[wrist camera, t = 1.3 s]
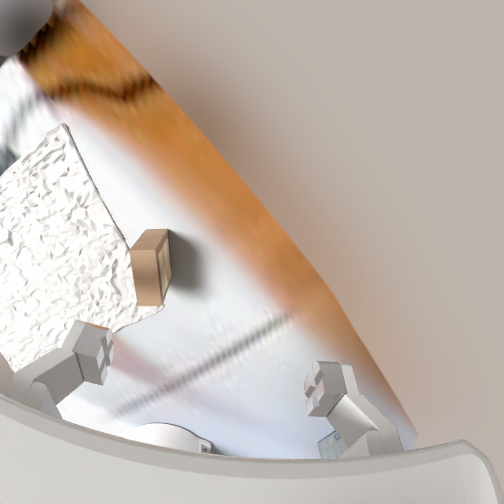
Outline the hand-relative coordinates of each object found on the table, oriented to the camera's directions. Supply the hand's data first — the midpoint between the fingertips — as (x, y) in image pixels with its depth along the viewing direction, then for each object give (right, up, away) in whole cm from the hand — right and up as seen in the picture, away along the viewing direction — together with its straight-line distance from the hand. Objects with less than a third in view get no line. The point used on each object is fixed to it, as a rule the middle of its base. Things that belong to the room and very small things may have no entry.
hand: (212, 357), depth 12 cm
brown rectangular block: (-11, +4, +30) cm, 33 cm away
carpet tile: (-35, +1, +31) cm, 47 cm away
